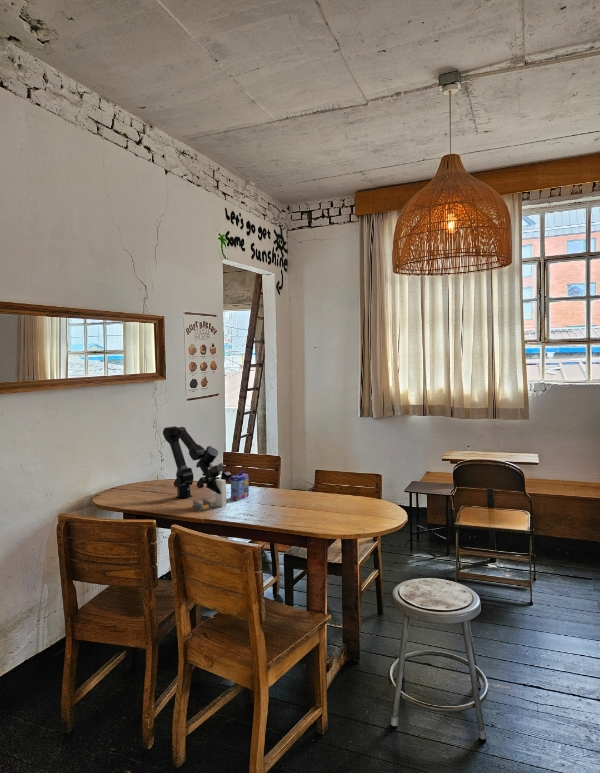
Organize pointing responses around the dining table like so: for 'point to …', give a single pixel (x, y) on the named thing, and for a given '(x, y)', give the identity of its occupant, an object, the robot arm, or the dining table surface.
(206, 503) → the rack
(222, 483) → the panel
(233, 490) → the ink cartridge box
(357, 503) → the dining table surface
